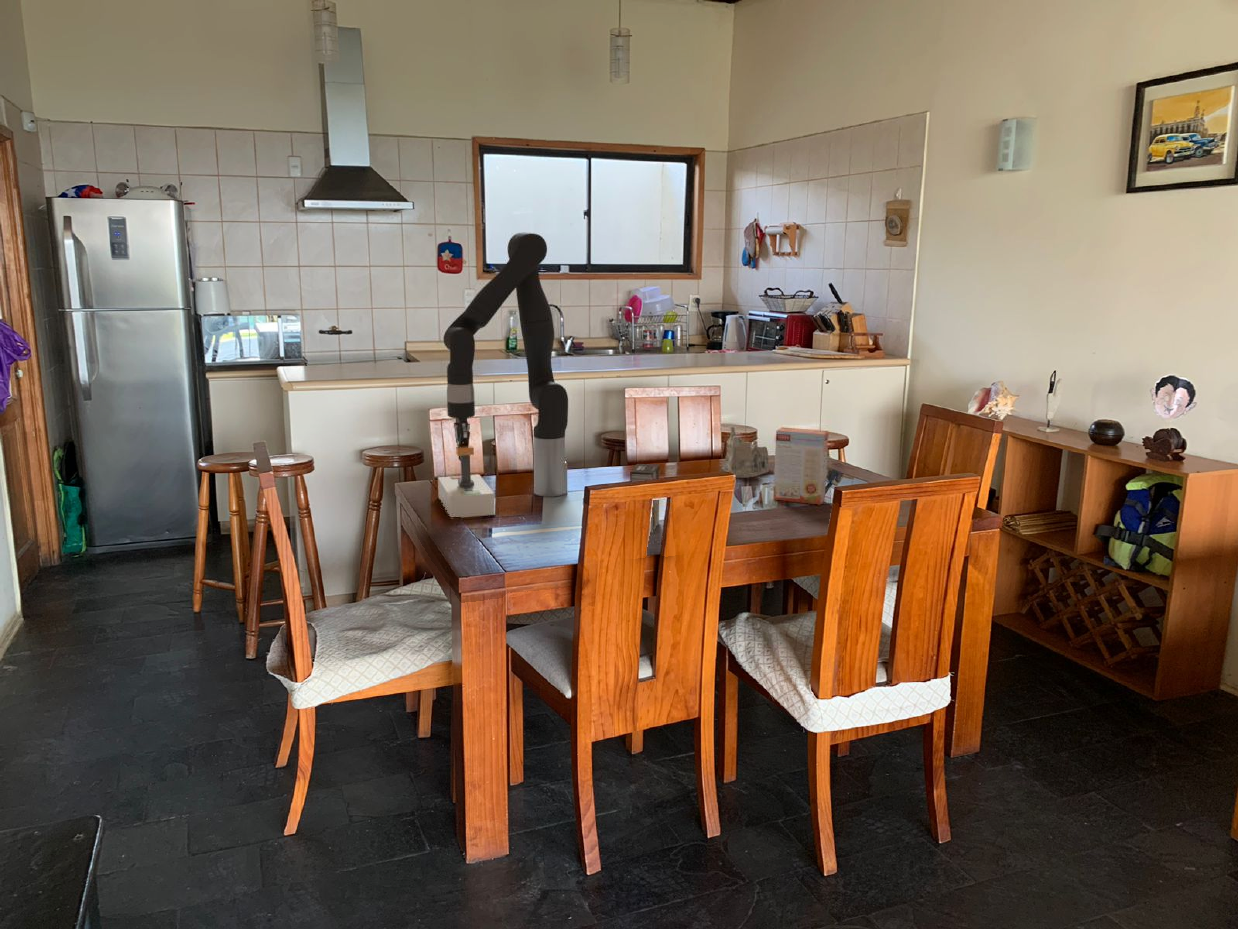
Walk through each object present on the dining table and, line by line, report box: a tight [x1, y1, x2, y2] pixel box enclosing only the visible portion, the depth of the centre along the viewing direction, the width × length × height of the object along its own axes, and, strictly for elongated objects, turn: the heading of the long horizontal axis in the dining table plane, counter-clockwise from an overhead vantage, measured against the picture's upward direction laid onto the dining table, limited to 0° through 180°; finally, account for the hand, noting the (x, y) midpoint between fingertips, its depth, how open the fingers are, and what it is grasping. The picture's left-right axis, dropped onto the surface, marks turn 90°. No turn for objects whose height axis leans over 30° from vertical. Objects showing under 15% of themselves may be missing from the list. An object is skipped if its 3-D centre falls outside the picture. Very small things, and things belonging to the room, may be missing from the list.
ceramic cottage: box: [721, 425, 770, 479], centre depth 301 cm, size 16×16×15 cm
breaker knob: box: [455, 445, 475, 487], centre depth 257 cm, size 4×3×11 cm
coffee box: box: [629, 463, 661, 532], centre depth 241 cm, size 9×6×16 cm
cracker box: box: [773, 426, 829, 506], centre depth 267 cm, size 14×6×21 cm, turn 65°
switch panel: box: [437, 474, 496, 518], centre depth 260 cm, size 12×22×6 cm, turn 19°
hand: (462, 460), depth 260 cm, fingers closed
